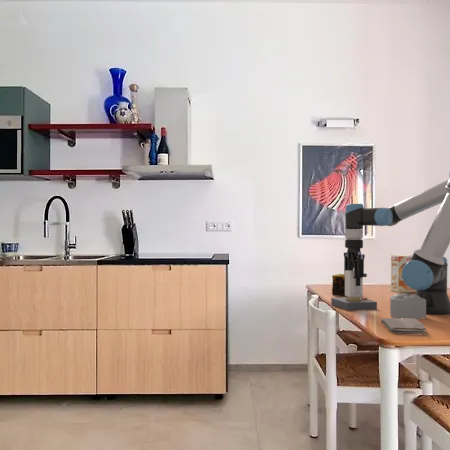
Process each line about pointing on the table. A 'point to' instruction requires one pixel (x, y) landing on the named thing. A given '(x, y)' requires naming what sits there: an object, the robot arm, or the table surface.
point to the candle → (338, 284)
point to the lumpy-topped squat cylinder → (407, 306)
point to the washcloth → (404, 326)
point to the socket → (354, 303)
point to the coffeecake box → (399, 273)
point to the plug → (352, 286)
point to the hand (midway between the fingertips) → (353, 292)
